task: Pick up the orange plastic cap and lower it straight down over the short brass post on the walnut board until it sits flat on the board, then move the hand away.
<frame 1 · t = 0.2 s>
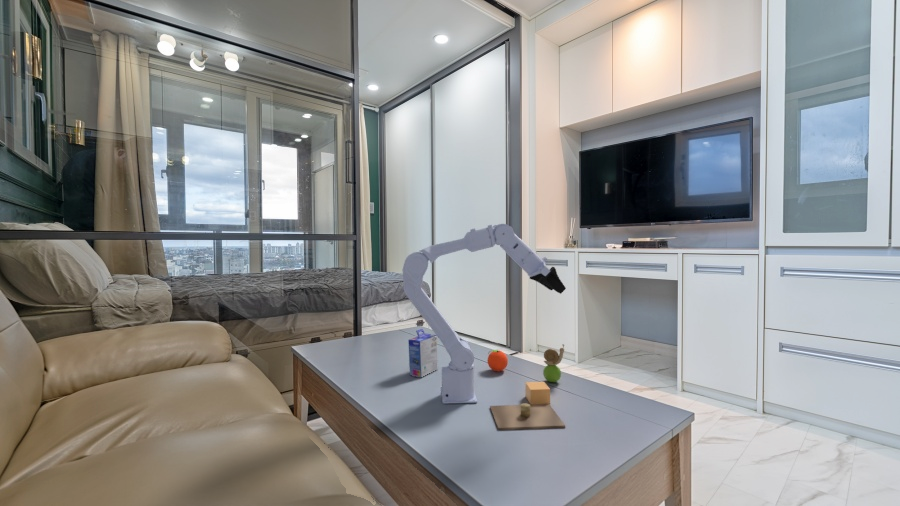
hand: (558, 289, 107), 30 cm above the table, tool tilted 45°, fingers open, 7 cm apart
orange cap: (537, 399, 105), on the table
post board: (525, 417, 95), on the table
clementine: (496, 371, 130), on the table
snail figurine: (553, 382, 119), on the table
ink cartridge box: (423, 373, 128), on the table
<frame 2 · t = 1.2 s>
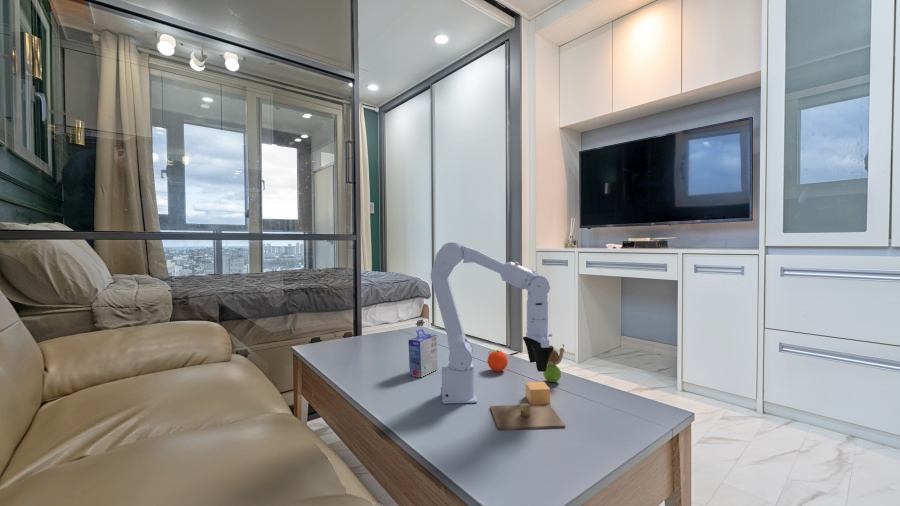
hand: (537, 366, 105), 9 cm above the table, tool pointing down, fingers open, 7 cm apart
nothing on the table moved.
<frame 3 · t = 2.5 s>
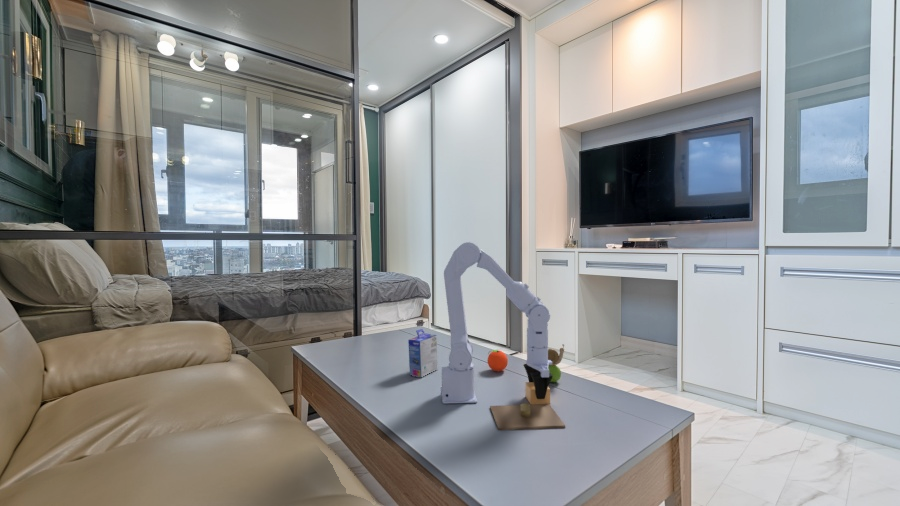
hand: (537, 394, 105), 2 cm above the table, tool pointing down, fingers closed on orange cap, 5 cm apart
orange cap: (537, 399, 105), on the table, touching gripper
everything else where it was.
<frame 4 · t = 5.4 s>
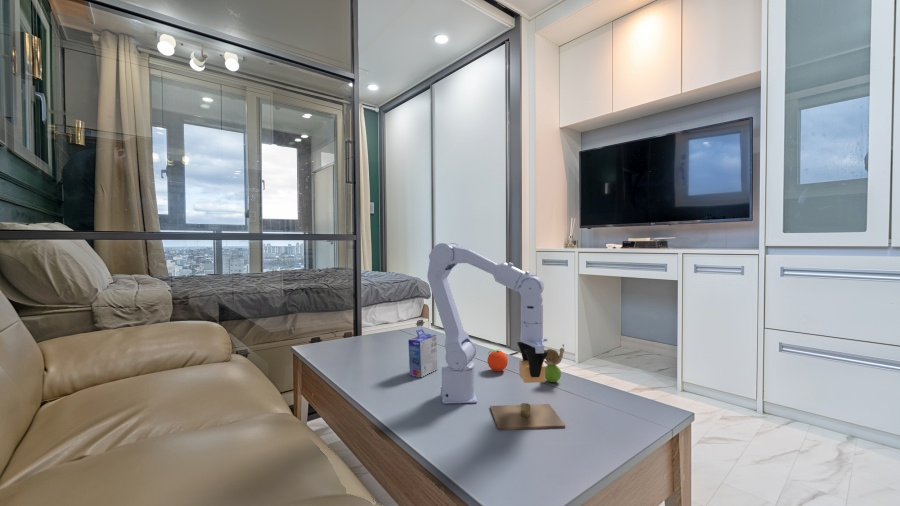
hand: (531, 372, 100), 9 cm above the table, tool pointing down, fingers closed on orange cap, 5 cm apart
orange cap: (531, 378, 100), point 8 cm above the table, touching gripper
everything else where it was.
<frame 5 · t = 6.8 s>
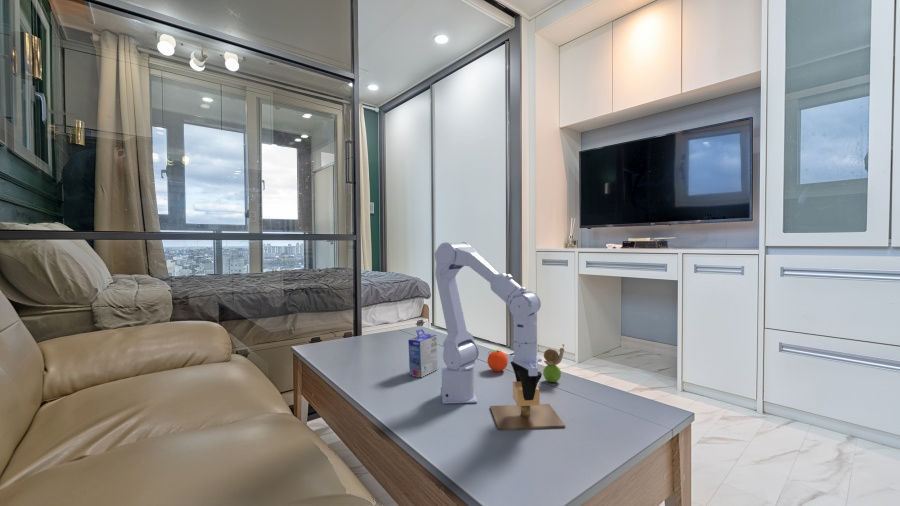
hand: (525, 394, 95), 6 cm above the table, tool pointing down, fingers closed on orange cap, 5 cm apart
orange cap: (525, 401, 95), point 4 cm above the table, touching gripper
everything else where it was.
when the fingers open (3 cm above the table, at t = 8.1 s): orange cap stays where it is, resting on post board.
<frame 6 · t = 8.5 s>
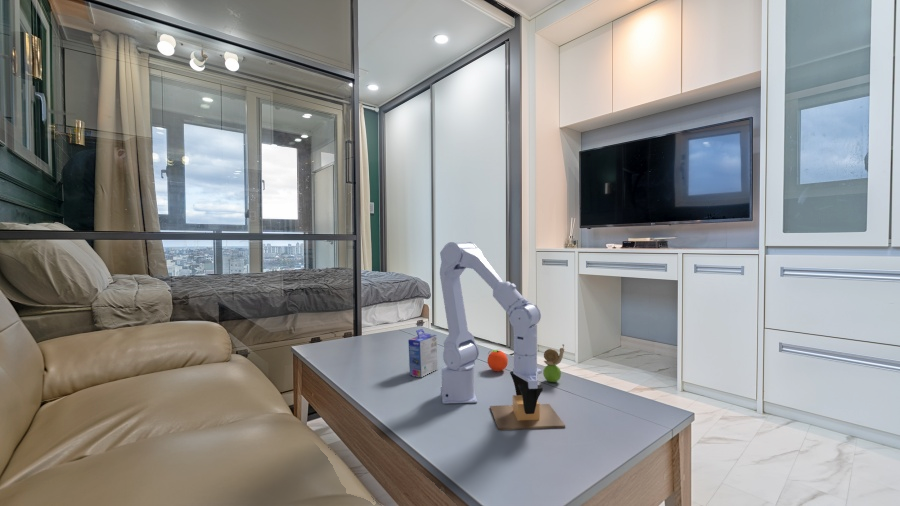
hand: (525, 406, 95), 3 cm above the table, tool pointing down, fingers open, 7 cm apart
orange cap: (525, 415, 95), resting on post board
everything else where it was.
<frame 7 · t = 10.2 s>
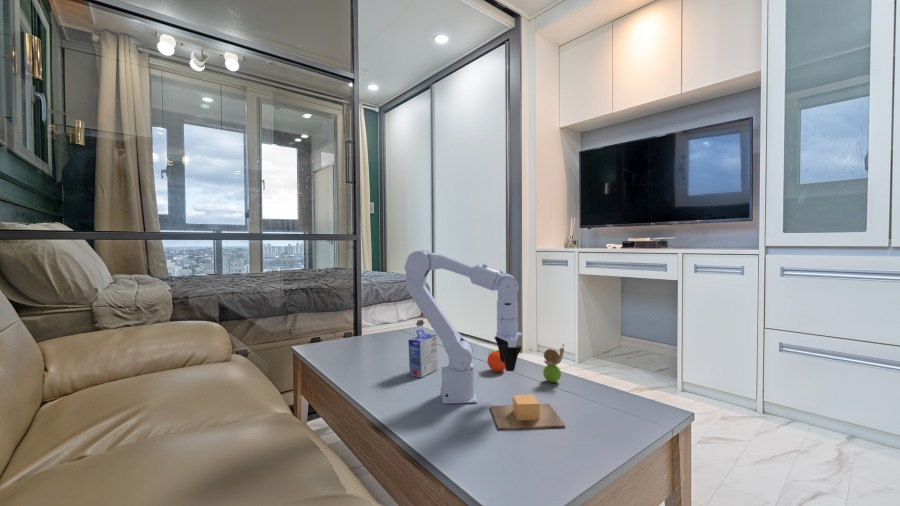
hand: (507, 366, 105), 9 cm above the table, tool pointing down, fingers open, 7 cm apart
nothing on the table moved.
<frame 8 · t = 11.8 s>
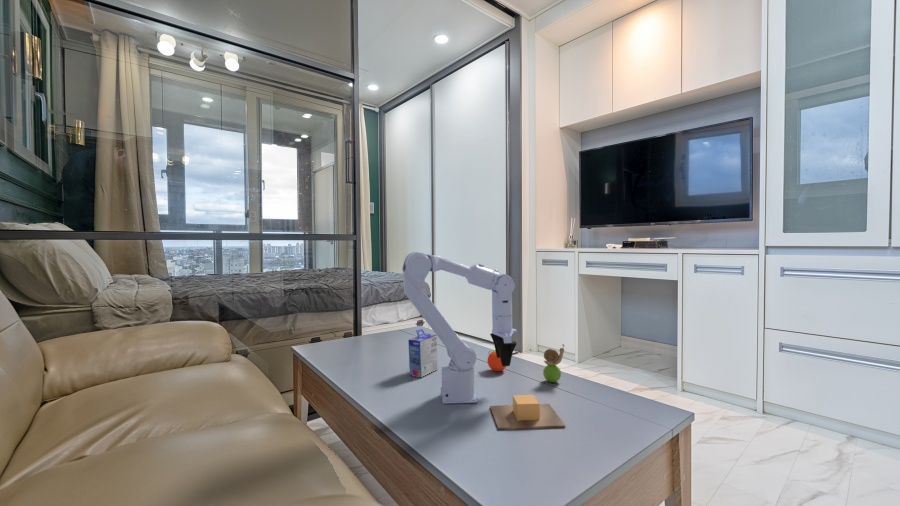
hand: (503, 361, 109), 9 cm above the table, tool pointing down, fingers open, 7 cm apart
nothing on the table moved.
at the end: orange cap 0.1 cm off-centre on the post board, point 0.5 cm above the post board's base; orange cap tilted 0°; the gripper is holding nothing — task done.
